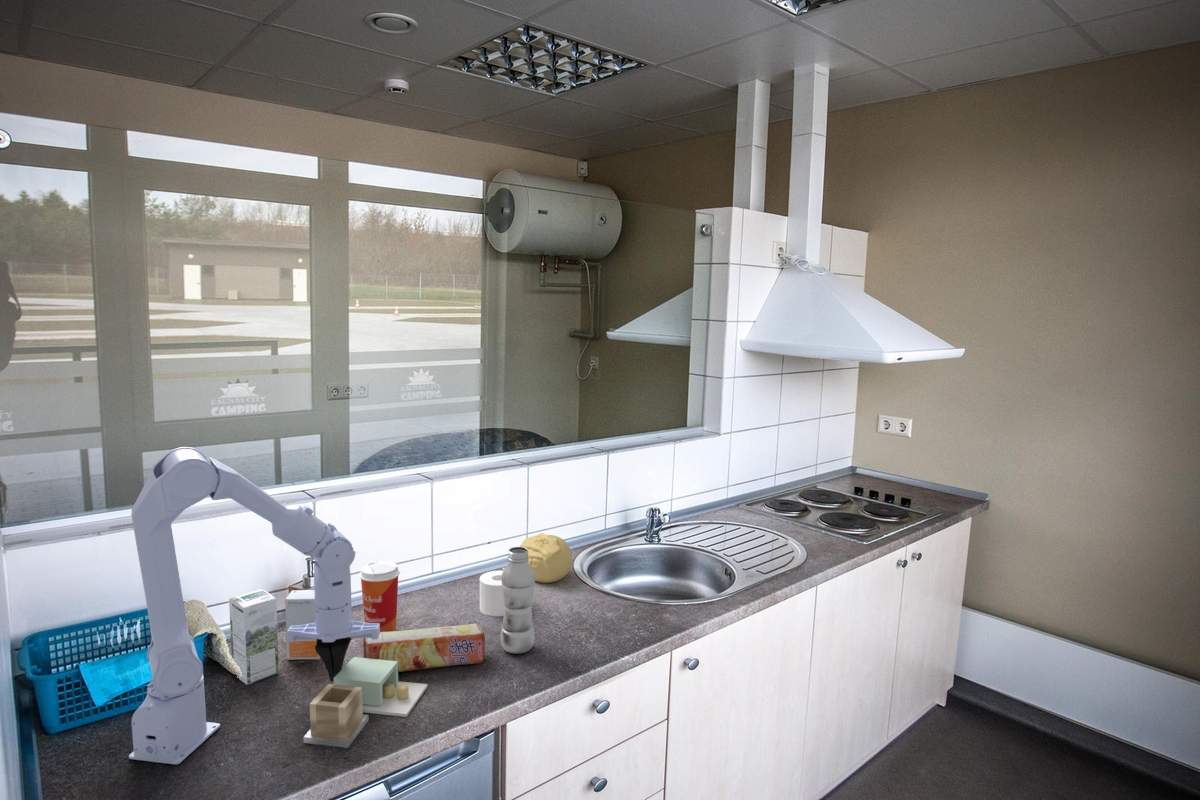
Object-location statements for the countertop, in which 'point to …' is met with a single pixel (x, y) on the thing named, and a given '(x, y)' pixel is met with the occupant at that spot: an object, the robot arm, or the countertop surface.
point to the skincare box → (300, 623)
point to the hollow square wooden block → (336, 710)
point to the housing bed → (397, 699)
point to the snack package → (428, 647)
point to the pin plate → (337, 740)
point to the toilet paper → (491, 594)
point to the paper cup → (380, 594)
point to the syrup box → (254, 635)
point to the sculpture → (548, 557)
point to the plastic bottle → (517, 602)
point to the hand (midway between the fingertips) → (335, 678)
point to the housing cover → (368, 677)
